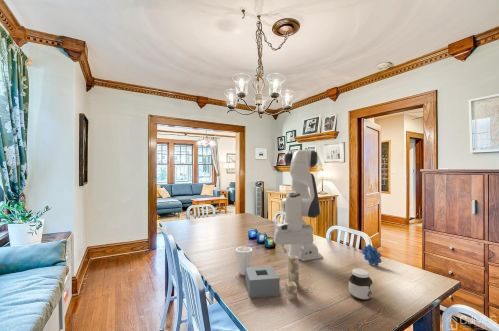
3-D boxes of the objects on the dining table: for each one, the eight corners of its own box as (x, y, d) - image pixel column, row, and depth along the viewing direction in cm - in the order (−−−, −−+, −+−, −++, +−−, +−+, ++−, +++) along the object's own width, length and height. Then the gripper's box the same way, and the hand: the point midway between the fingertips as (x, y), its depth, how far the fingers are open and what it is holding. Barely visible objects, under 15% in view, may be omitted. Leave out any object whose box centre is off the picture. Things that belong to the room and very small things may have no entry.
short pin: (293, 294, 111) (293, 281, 111) (297, 299, 107) (297, 285, 107) (285, 295, 110) (285, 282, 110) (288, 299, 106) (288, 286, 106)
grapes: (358, 263, 147) (358, 244, 147) (363, 260, 151) (363, 242, 151) (378, 269, 138) (378, 249, 138) (383, 266, 142) (383, 246, 142)
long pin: (295, 282, 122) (295, 255, 123) (298, 286, 118) (298, 258, 119) (288, 282, 122) (288, 255, 122) (291, 286, 118) (291, 258, 118)
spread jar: (359, 303, 103) (359, 276, 103) (340, 291, 113) (340, 267, 113) (378, 297, 108) (378, 272, 108) (358, 286, 118) (358, 263, 118)
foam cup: (239, 277, 128) (239, 253, 128) (233, 270, 136) (233, 248, 136) (255, 273, 132) (255, 250, 133) (247, 267, 141) (247, 245, 141)
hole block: (271, 281, 123) (271, 265, 124) (279, 295, 110) (279, 278, 110) (245, 283, 121) (245, 267, 121) (249, 298, 107) (249, 280, 108)
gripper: (310, 223, 125) (310, 249, 125) (272, 224, 122) (272, 251, 122) (315, 225, 119) (315, 253, 119) (276, 226, 116) (275, 255, 115)
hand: (293, 252), depth 120 cm, fingers open, 8 cm apart
